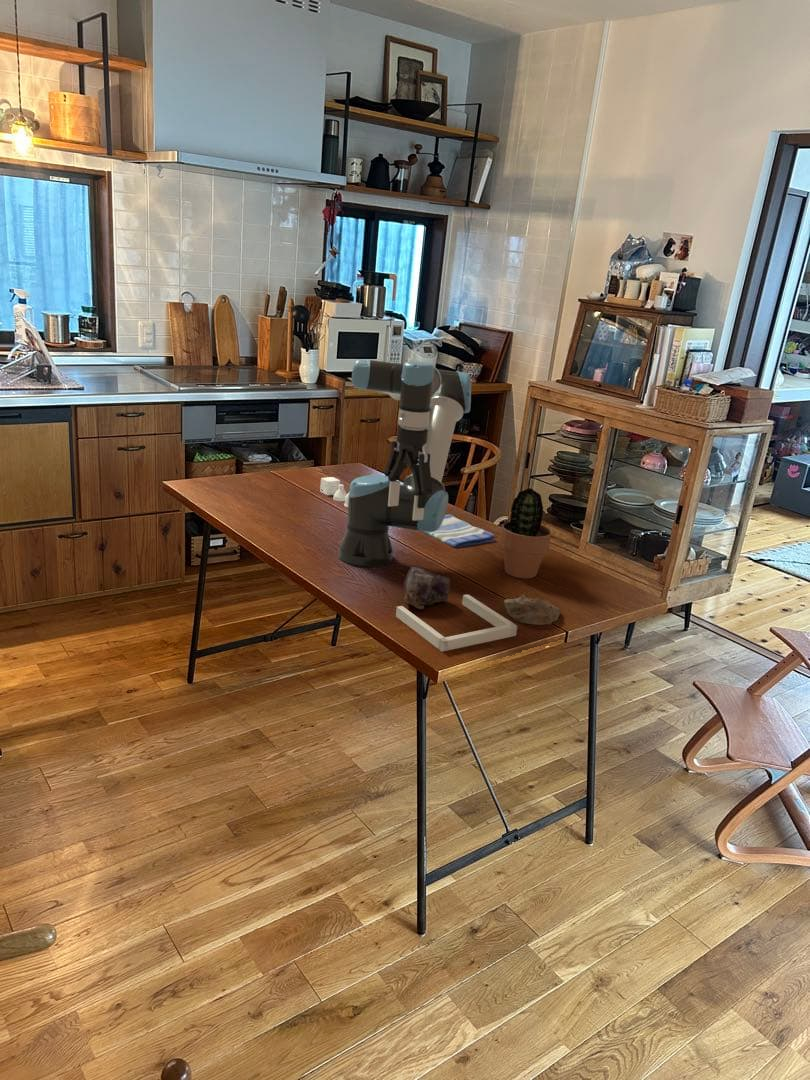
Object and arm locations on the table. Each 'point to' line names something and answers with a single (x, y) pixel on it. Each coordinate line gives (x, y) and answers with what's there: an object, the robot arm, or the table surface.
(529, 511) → the potted plant
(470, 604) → the bay
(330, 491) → the container set
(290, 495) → the table surface
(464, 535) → the dish towel
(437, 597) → the rock
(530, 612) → the oyster shell
